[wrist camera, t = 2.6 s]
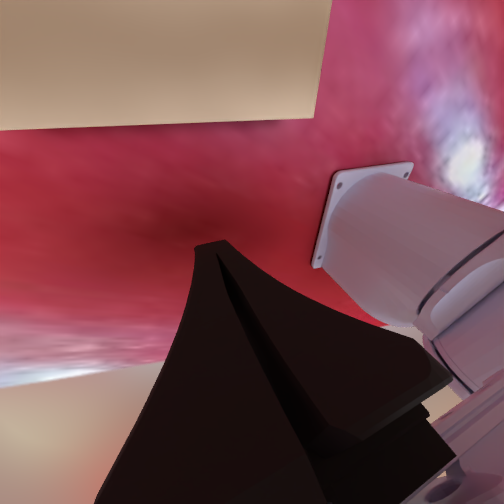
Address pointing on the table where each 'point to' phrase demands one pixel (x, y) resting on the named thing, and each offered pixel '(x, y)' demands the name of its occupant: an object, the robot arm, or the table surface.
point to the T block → (158, 61)
